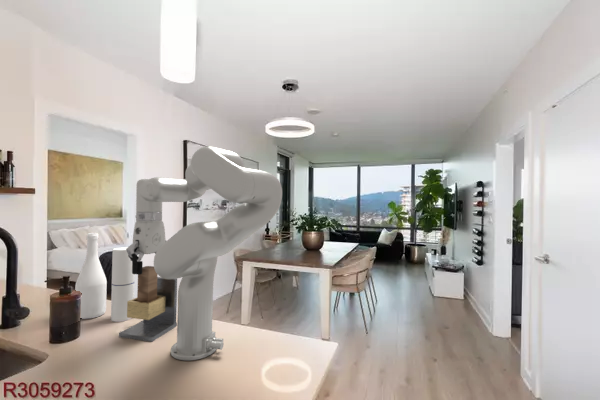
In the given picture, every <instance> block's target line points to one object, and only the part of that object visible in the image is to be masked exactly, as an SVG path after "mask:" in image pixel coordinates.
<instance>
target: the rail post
mask: <svg viewBox="0 0 600 400" xmlns="http://www.w3.org/2000/svg"><path fill="white" fill-rule="evenodd" d="M157 277H158V274H157V273H156V271H155V269H154V265H153V266H152V265H146V266H142V274H140V275H138V274H137V291H136V292H137V294H136V298H137V301H138V302H147V303H149V302H151V301H153V300H156V299H157Z"/></svg>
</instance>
